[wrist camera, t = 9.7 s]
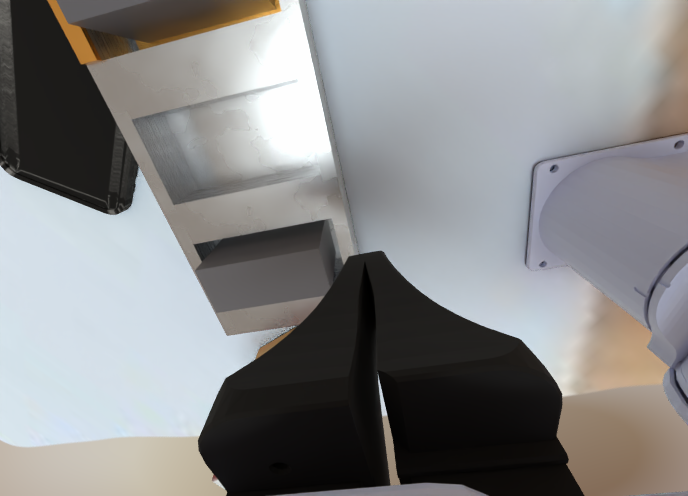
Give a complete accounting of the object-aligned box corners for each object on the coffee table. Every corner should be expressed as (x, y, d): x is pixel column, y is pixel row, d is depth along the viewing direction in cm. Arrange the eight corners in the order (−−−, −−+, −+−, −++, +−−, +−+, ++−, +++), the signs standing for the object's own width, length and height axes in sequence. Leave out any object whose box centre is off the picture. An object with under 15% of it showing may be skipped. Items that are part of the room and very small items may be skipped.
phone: (-4, 170, 19) (-27, -149, 13) (14, 166, 20) (1, -132, 14) (124, 220, 21) (161, -43, 14) (134, 214, 22) (174, -34, 15)
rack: (266, -184, 13) (232, -297, 9) (365, 282, 23) (368, 317, 20) (57, -110, 14) (-49, -183, 10) (243, 302, 24) (225, 338, 21)
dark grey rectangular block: (326, 213, 20) (319, 248, 15) (335, 252, 21) (331, 294, 17) (227, 232, 21) (194, 270, 16) (243, 268, 22) (216, 313, 18)
